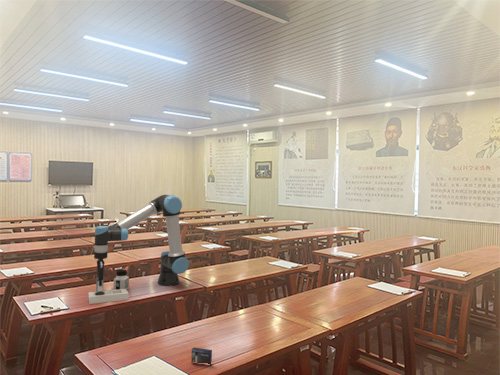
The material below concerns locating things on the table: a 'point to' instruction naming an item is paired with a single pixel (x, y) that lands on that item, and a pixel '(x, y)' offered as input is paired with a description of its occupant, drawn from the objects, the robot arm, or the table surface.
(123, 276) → the container
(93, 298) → the white slotted block
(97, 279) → the pin
